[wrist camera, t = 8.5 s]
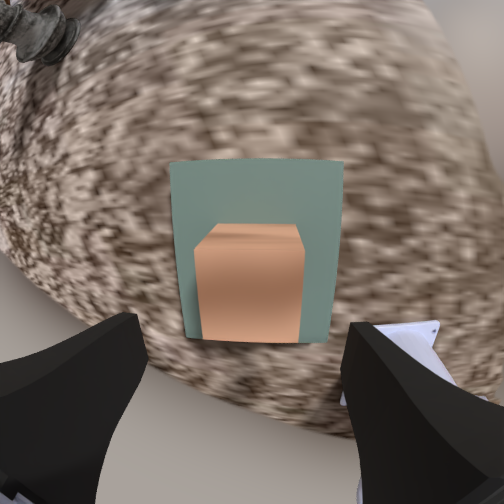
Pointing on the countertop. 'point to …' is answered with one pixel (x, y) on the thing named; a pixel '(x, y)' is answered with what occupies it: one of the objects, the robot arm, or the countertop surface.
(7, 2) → the tin
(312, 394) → the countertop surface
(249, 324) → the block
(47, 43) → the salt shaker
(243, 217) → the book
